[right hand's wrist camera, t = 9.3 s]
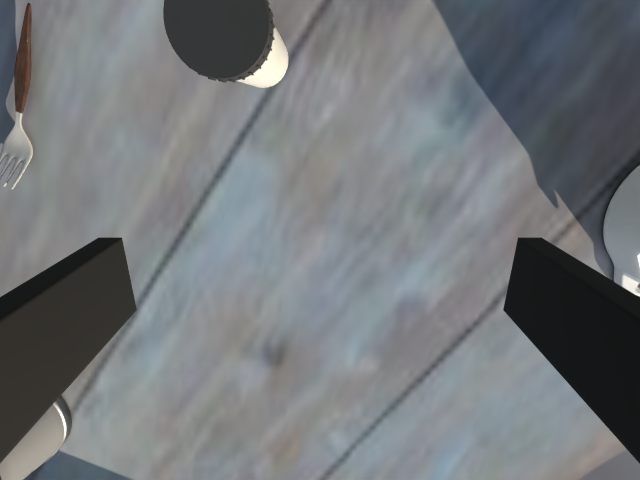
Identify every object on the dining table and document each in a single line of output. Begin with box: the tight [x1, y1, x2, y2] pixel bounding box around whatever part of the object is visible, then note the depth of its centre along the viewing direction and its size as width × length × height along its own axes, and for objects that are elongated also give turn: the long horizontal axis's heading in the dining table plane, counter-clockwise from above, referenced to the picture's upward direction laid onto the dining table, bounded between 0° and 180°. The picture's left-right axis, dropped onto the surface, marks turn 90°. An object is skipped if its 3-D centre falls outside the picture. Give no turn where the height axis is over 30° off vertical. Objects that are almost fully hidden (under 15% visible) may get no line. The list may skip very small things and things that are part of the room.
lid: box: [164, 0, 275, 83], centre depth 19 cm, size 5×5×2 cm
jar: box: [236, 27, 288, 88], centre depth 25 cm, size 5×5×15 cm
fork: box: [0, 3, 33, 189], centre depth 32 cm, size 3×16×2 cm, turn 159°
